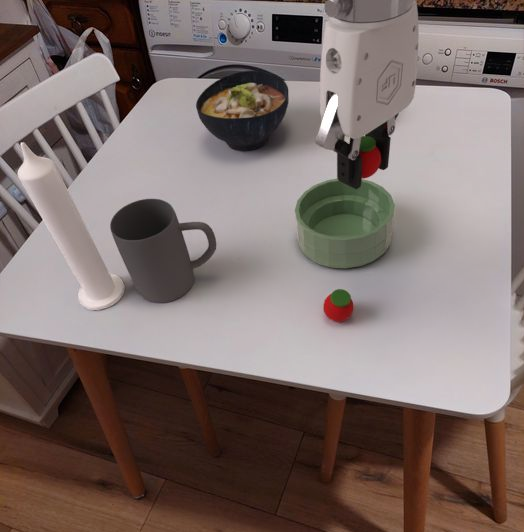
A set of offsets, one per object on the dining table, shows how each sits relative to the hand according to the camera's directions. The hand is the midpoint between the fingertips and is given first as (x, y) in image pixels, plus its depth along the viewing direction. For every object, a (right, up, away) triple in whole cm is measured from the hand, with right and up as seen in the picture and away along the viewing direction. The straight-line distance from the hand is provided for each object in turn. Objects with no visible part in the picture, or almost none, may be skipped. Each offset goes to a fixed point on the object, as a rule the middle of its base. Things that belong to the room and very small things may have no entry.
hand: (362, 172), depth 60 cm
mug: (-24, -10, +18) cm, 32 cm away
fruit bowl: (+1, -3, +19) cm, 20 cm away
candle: (-36, -12, +19) cm, 43 cm away
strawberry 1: (-2, -16, +10) cm, 19 cm away
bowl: (-14, +20, +40) cm, 47 cm away
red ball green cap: (0, 0, 0) cm, 0 cm away
